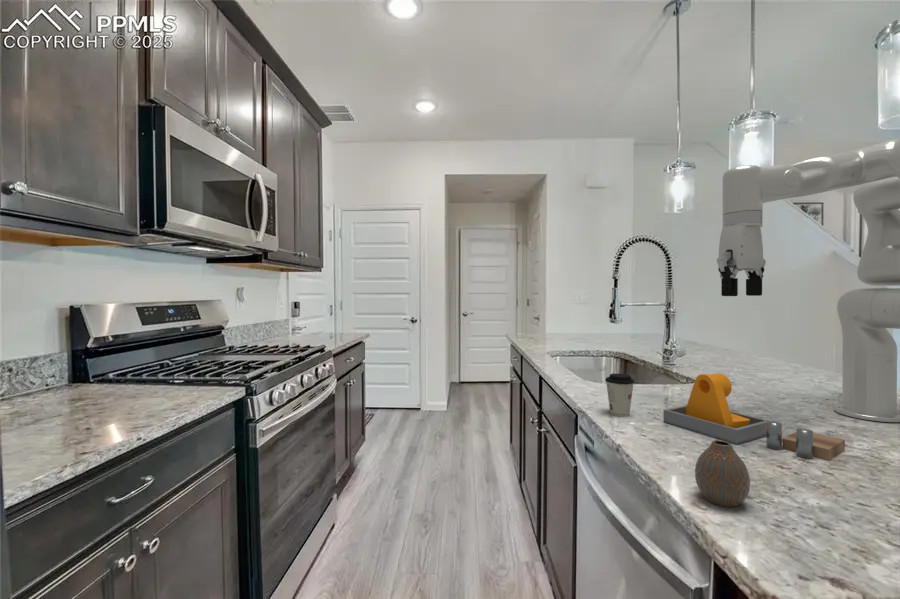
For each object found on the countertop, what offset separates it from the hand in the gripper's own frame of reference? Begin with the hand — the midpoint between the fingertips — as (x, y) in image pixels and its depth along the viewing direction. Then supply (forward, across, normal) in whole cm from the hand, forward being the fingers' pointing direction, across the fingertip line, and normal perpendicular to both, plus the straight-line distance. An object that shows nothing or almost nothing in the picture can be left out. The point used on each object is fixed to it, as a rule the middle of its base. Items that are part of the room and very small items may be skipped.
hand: (742, 295), depth 95 cm
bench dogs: (+30, +8, +13) cm, 34 cm away
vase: (+31, +39, +18) cm, 53 cm away
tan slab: (+31, +3, +14) cm, 34 cm away
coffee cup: (+31, +17, -20) cm, 40 cm away
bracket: (+30, +6, -2) cm, 31 cm away
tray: (+30, +7, -2) cm, 31 cm away
